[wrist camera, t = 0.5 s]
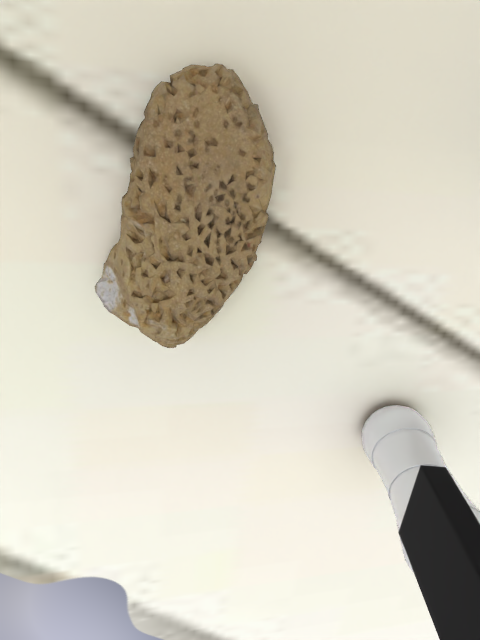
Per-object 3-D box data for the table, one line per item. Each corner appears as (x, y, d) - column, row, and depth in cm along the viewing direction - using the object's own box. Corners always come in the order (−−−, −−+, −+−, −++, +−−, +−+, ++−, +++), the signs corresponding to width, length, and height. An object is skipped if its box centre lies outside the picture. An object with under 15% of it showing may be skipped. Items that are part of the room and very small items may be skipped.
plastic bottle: (428, 437, 46) (554, 642, 27) (365, 456, 46) (445, 666, 28) (414, 388, 43) (541, 575, 25) (348, 408, 44) (423, 604, 26)
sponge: (203, 330, 42) (343, 155, 32) (169, 372, 36) (334, 169, 25) (94, 243, 42) (203, 37, 31) (39, 271, 35) (155, 20, 25)
